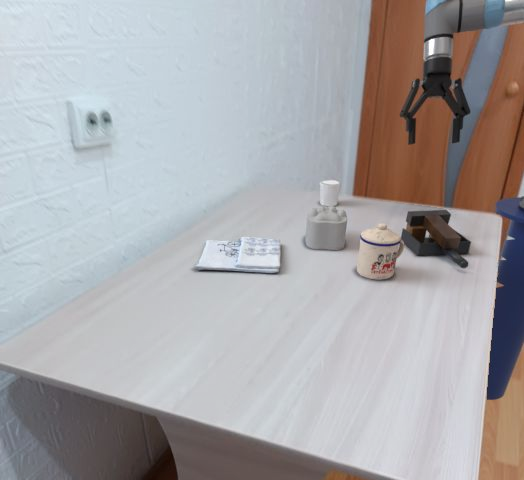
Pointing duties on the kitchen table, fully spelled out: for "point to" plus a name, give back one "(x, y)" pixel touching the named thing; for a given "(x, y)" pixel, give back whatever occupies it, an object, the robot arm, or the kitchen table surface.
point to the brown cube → (417, 232)
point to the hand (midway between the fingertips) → (433, 143)
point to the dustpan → (437, 248)
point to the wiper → (435, 226)
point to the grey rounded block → (326, 228)
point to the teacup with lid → (379, 252)
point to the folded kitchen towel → (241, 255)
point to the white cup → (329, 192)
